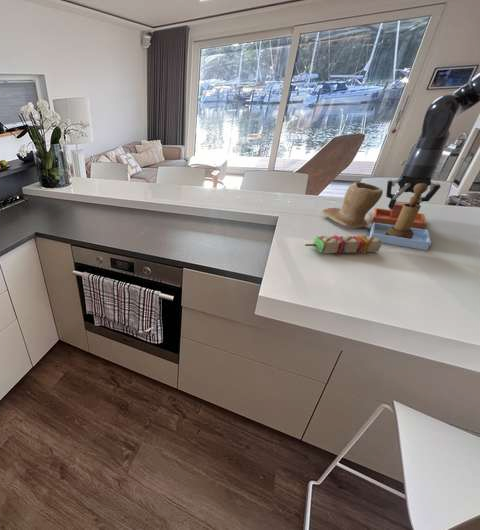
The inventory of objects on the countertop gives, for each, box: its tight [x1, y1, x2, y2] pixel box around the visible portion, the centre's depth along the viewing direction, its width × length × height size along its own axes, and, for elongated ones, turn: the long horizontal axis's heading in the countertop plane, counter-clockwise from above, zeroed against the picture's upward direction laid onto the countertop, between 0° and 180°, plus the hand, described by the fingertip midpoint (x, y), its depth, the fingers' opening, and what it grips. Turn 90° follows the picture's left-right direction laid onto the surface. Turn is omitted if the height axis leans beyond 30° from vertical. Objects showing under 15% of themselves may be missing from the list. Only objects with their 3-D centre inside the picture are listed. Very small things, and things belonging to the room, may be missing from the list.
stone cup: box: [321, 181, 384, 229], centre depth 107 cm, size 15×12×15 cm
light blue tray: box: [369, 222, 432, 251], centre depth 96 cm, size 14×11×3 cm
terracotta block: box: [390, 200, 410, 219], centre depth 105 cm, size 5×5×5 cm
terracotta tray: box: [371, 207, 427, 230], centre depth 107 cm, size 14×11×3 cm
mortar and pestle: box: [385, 183, 429, 239], centre depth 91 cm, size 7×6×18 cm
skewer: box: [304, 234, 383, 254], centre depth 91 cm, size 21×6×5 cm, turn 84°
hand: (401, 210), depth 105 cm, fingers closed on terracotta block, 5 cm apart
